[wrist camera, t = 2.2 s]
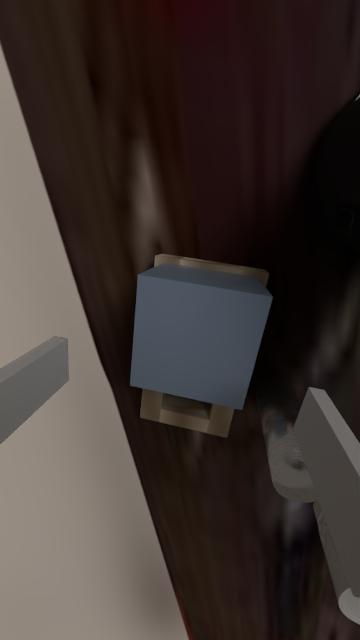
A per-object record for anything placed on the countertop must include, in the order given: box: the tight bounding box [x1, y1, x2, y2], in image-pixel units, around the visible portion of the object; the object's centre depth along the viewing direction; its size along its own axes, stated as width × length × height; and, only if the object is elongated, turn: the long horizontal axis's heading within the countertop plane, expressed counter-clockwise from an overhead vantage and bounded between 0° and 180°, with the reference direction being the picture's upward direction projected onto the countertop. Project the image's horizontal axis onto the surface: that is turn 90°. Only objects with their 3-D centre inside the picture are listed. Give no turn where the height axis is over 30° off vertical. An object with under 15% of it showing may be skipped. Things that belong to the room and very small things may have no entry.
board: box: [140, 254, 269, 438], centre depth 28 cm, size 11×20×3 cm, turn 172°
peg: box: [255, 374, 318, 503], centre depth 24 cm, size 4×4×12 cm
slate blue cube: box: [130, 263, 273, 410], centre depth 21 cm, size 9×9×8 cm
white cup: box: [313, 500, 360, 624], centre depth 29 cm, size 8×8×10 cm
